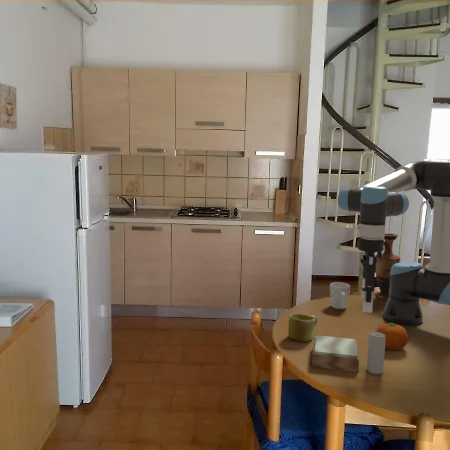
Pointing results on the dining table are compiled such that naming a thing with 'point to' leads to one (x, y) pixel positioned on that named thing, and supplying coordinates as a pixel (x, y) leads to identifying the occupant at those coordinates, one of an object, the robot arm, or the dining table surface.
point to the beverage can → (376, 352)
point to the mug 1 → (301, 327)
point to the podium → (335, 353)
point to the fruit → (394, 336)
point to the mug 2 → (339, 294)
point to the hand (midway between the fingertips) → (366, 305)
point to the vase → (385, 266)
